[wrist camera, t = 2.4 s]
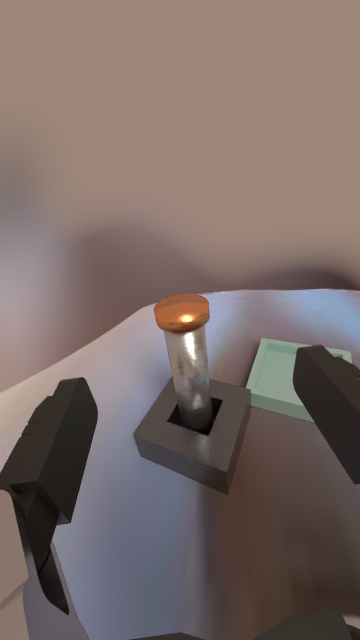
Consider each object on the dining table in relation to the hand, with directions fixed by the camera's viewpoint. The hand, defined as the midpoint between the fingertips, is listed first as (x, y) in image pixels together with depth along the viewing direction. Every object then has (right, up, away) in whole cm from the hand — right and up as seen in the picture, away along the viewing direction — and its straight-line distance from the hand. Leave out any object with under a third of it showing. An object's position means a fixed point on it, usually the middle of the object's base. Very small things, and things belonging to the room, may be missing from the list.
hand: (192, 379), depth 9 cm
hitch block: (+2, -11, +20) cm, 23 cm away
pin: (+2, -11, +20) cm, 23 cm away
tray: (+16, -6, +24) cm, 30 cm away
